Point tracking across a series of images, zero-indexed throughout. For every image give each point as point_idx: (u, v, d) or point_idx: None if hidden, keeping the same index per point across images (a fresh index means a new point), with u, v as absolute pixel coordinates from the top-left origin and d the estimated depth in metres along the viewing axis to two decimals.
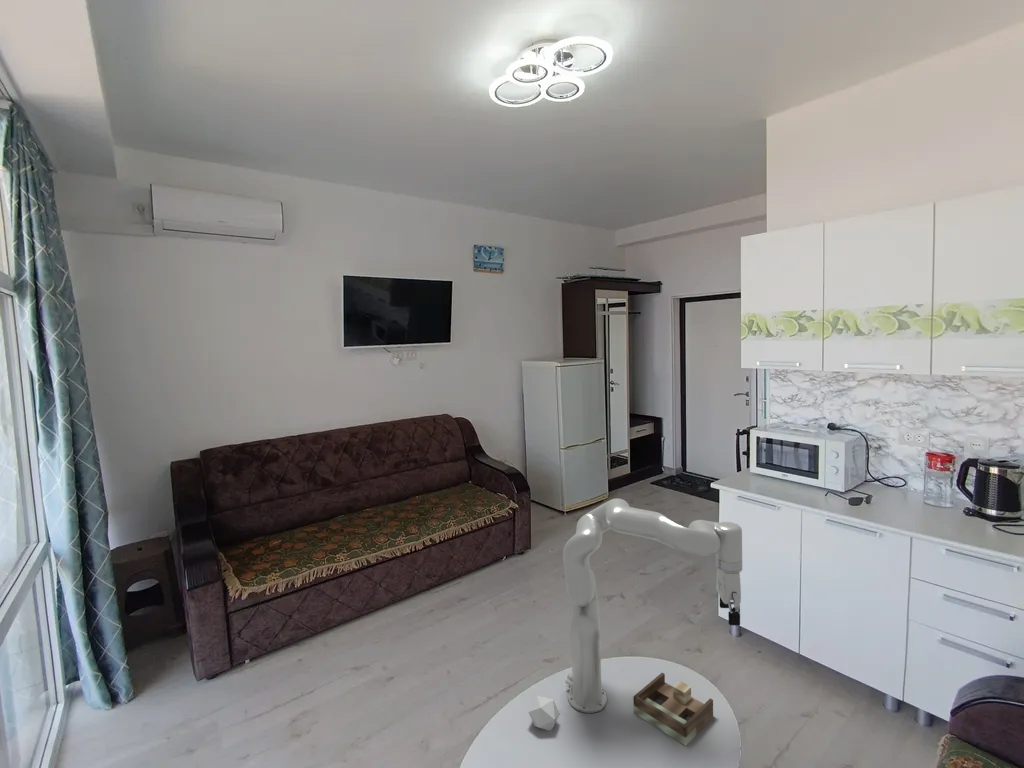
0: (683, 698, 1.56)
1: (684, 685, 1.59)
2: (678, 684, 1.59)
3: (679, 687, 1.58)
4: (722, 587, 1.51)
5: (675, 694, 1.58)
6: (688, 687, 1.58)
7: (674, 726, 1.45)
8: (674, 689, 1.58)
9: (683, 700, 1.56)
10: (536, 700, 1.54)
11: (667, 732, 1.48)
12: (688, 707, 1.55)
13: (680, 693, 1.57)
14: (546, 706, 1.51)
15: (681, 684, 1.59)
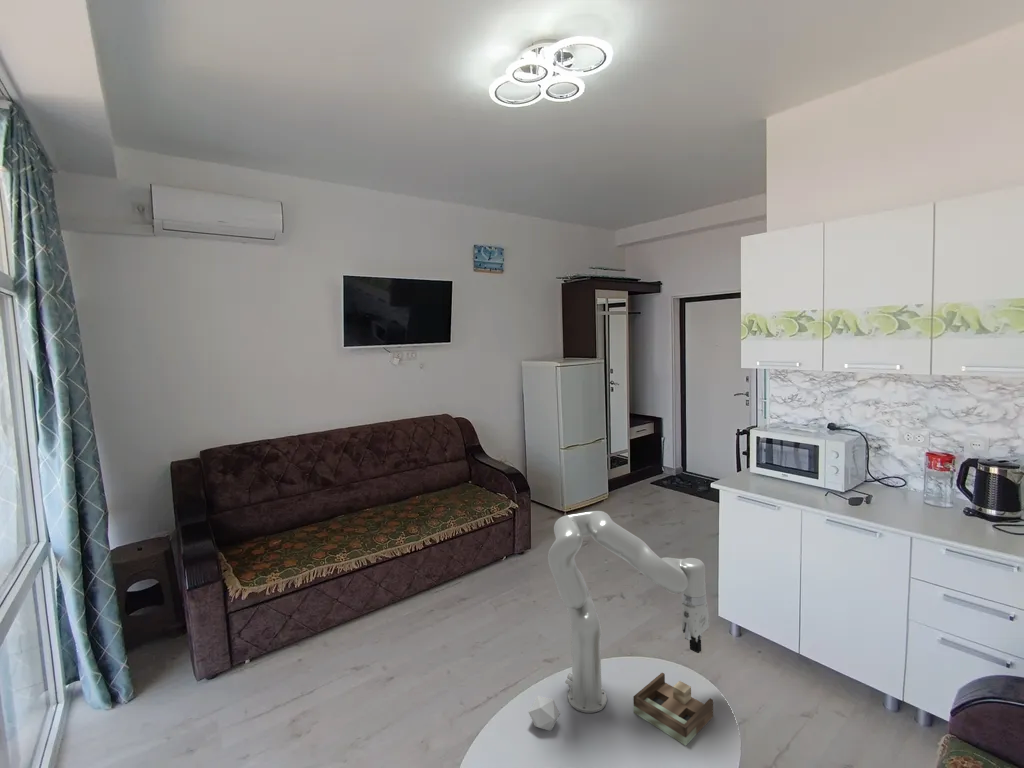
0: (683, 698, 1.56)
1: (684, 685, 1.59)
2: (678, 684, 1.59)
3: (679, 687, 1.58)
4: (706, 616, 1.61)
5: (675, 694, 1.58)
6: (688, 687, 1.58)
7: (674, 726, 1.45)
8: (674, 689, 1.58)
9: (683, 700, 1.56)
10: (536, 700, 1.54)
11: (667, 732, 1.48)
12: (688, 707, 1.55)
13: (680, 693, 1.57)
14: (546, 706, 1.51)
15: (681, 684, 1.59)
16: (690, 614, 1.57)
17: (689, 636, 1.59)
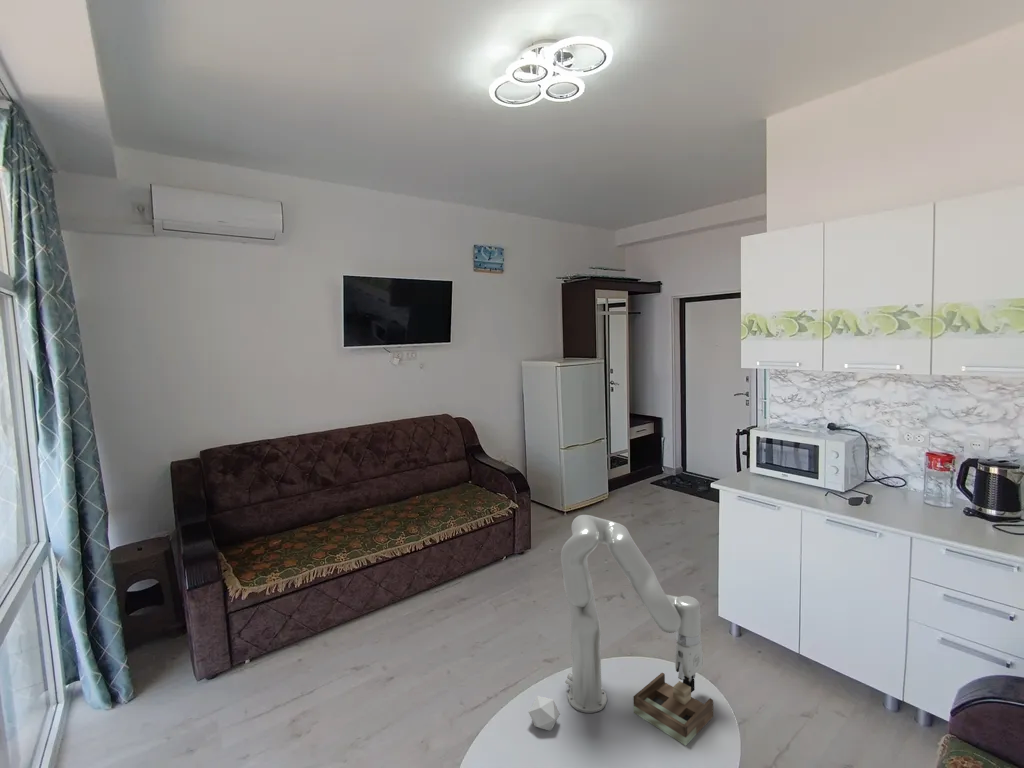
0: (683, 698, 1.56)
1: (684, 685, 1.59)
2: (678, 684, 1.59)
3: (679, 687, 1.58)
4: (700, 655, 1.60)
5: (675, 694, 1.58)
6: (688, 687, 1.58)
7: (674, 726, 1.45)
8: (674, 689, 1.58)
9: (683, 700, 1.56)
10: (536, 700, 1.54)
11: (667, 732, 1.48)
12: (688, 707, 1.55)
13: (680, 694, 1.57)
14: (546, 706, 1.51)
15: (681, 684, 1.59)
16: (684, 654, 1.56)
17: (683, 676, 1.57)
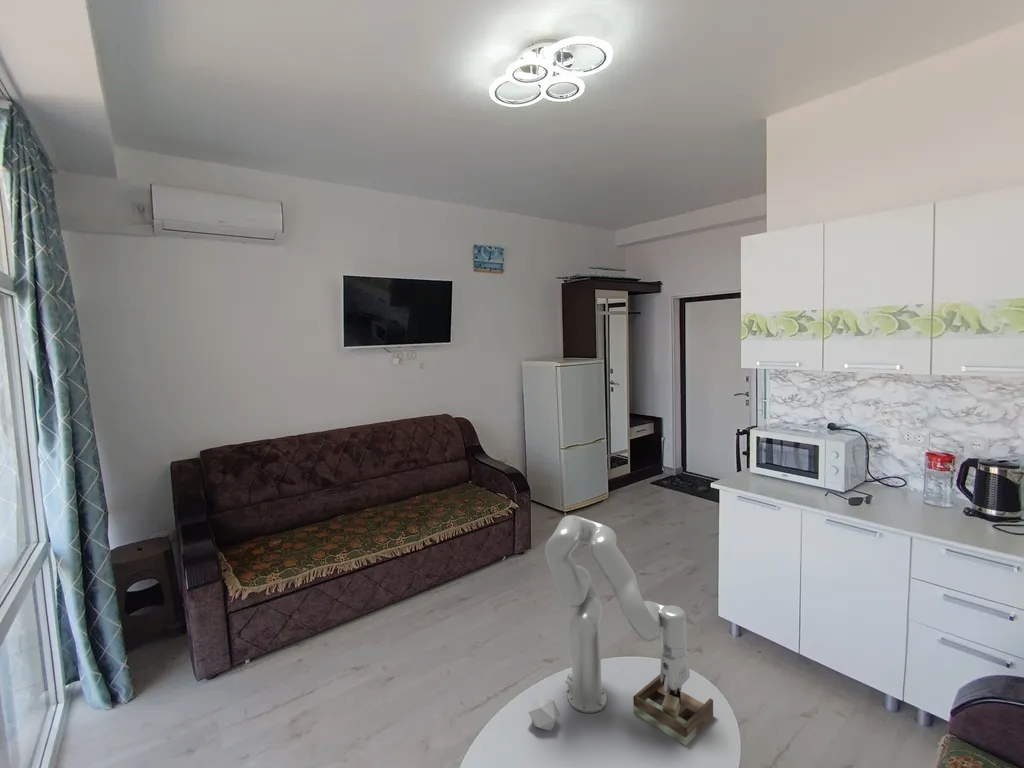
0: (674, 713, 1.50)
1: (672, 698, 1.52)
2: (666, 699, 1.52)
3: (668, 703, 1.51)
4: (686, 667, 1.54)
5: (666, 710, 1.51)
6: (676, 700, 1.51)
7: (674, 726, 1.45)
8: (664, 706, 1.51)
9: (675, 715, 1.50)
10: (536, 700, 1.54)
11: (667, 732, 1.48)
12: (688, 707, 1.55)
13: (670, 710, 1.50)
14: (546, 706, 1.51)
15: (669, 698, 1.52)
16: (669, 666, 1.50)
17: (668, 689, 1.52)
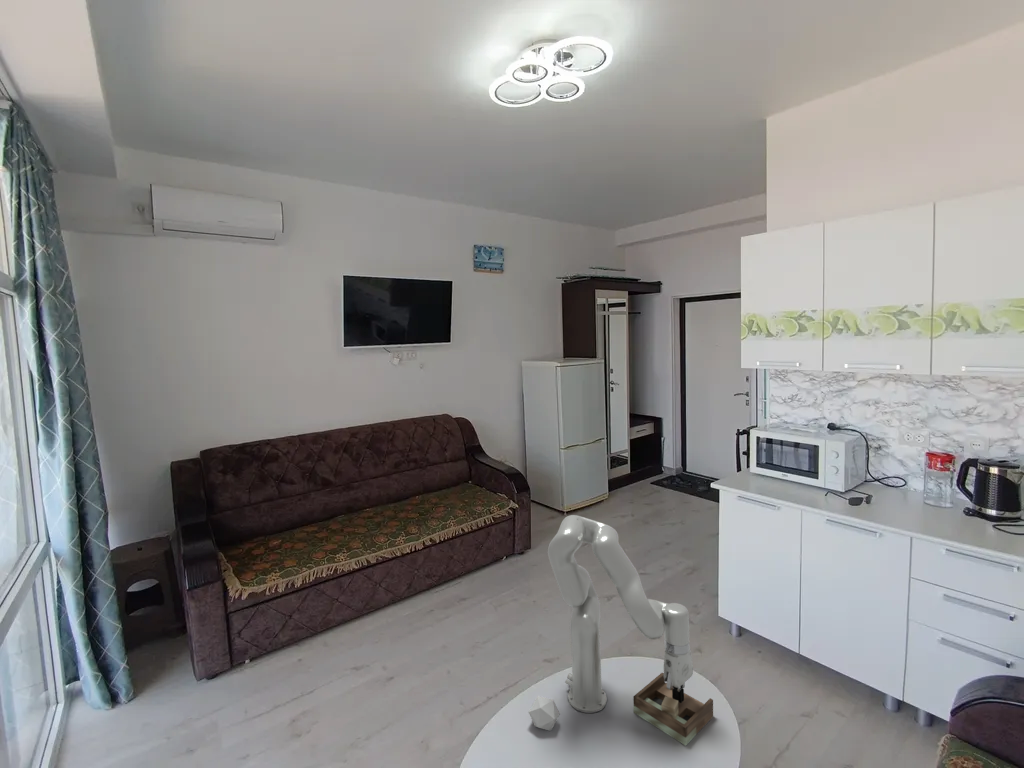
0: (673, 715, 1.49)
1: (671, 700, 1.52)
2: (665, 700, 1.52)
3: (667, 703, 1.51)
4: (689, 664, 1.55)
5: (664, 711, 1.51)
6: (676, 702, 1.52)
7: (674, 726, 1.45)
8: (663, 707, 1.51)
9: (673, 717, 1.49)
10: (536, 700, 1.54)
11: (667, 732, 1.48)
12: (688, 707, 1.55)
13: (669, 710, 1.50)
14: (546, 706, 1.51)
15: (668, 700, 1.53)
16: (672, 663, 1.51)
17: (671, 686, 1.53)
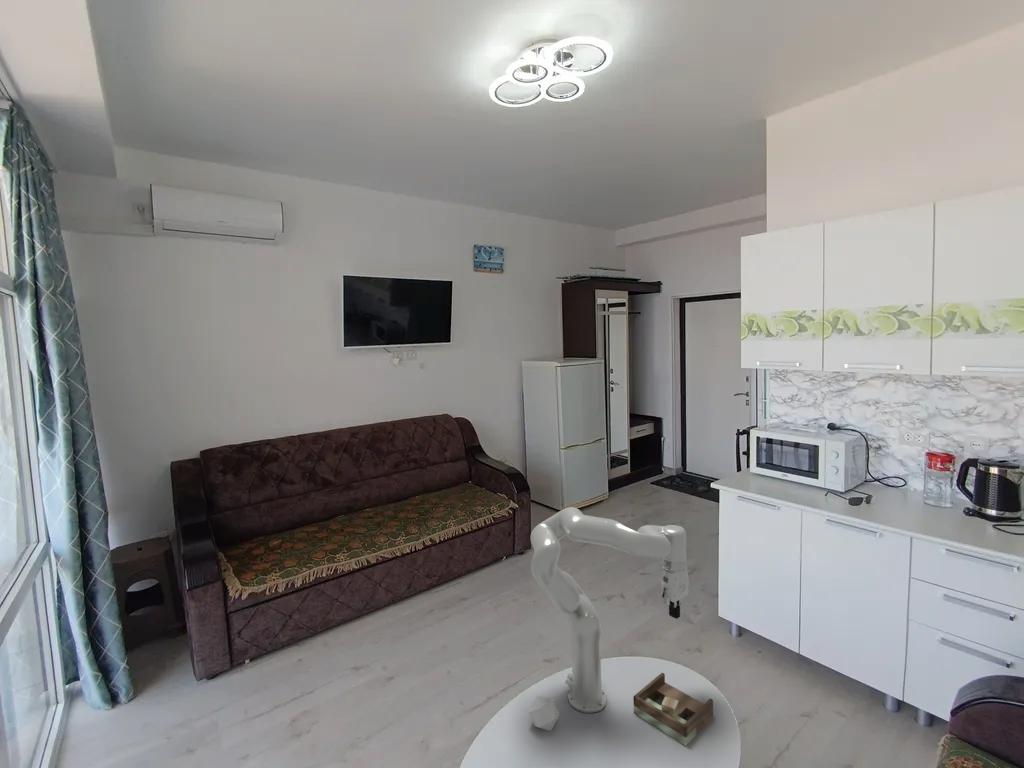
0: (673, 715, 1.49)
1: (671, 700, 1.52)
2: (665, 700, 1.52)
3: (667, 703, 1.51)
4: (686, 582, 1.63)
5: (664, 711, 1.51)
6: (676, 702, 1.52)
7: (674, 726, 1.45)
8: (663, 707, 1.51)
9: (673, 717, 1.49)
10: (536, 700, 1.54)
11: (667, 732, 1.48)
12: (688, 707, 1.55)
13: (669, 710, 1.50)
14: (546, 706, 1.51)
15: (668, 700, 1.53)
16: (669, 579, 1.60)
17: (668, 601, 1.61)
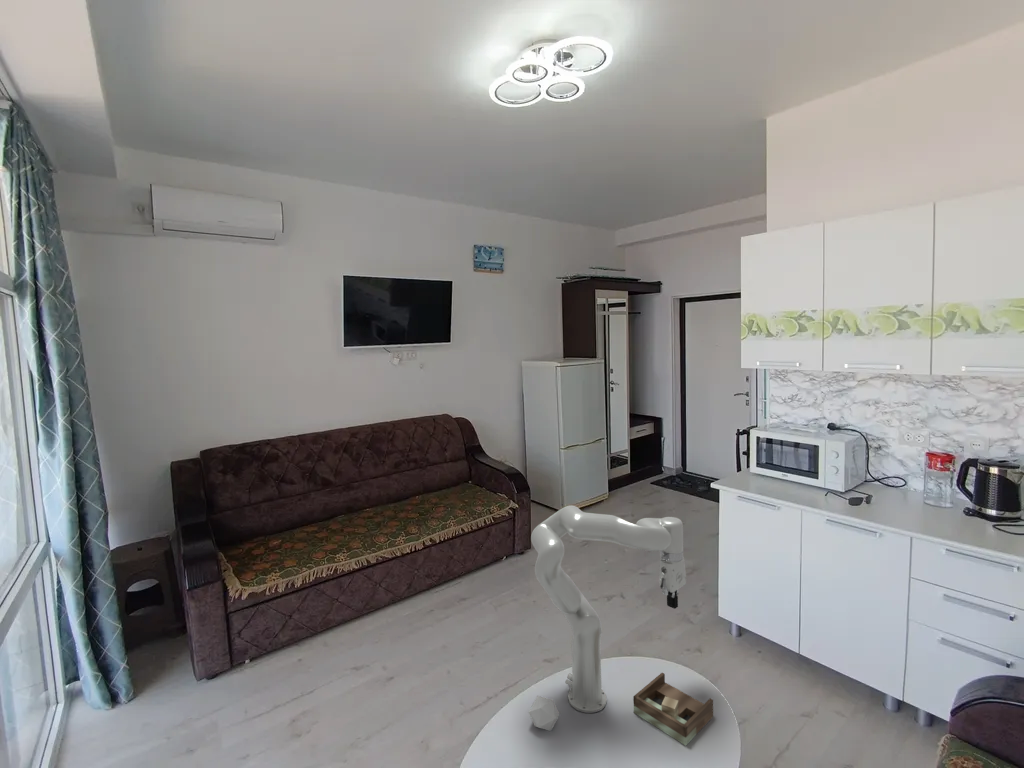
0: (673, 715, 1.49)
1: (671, 700, 1.52)
2: (665, 700, 1.52)
3: (667, 703, 1.51)
4: (683, 573, 1.67)
5: (664, 711, 1.51)
6: (676, 702, 1.52)
7: (674, 726, 1.45)
8: (663, 707, 1.51)
9: (673, 717, 1.49)
10: (536, 700, 1.53)
11: (667, 732, 1.48)
12: (688, 707, 1.55)
13: (669, 710, 1.50)
14: (546, 706, 1.51)
15: (668, 700, 1.53)
16: (667, 570, 1.63)
17: (666, 591, 1.64)
